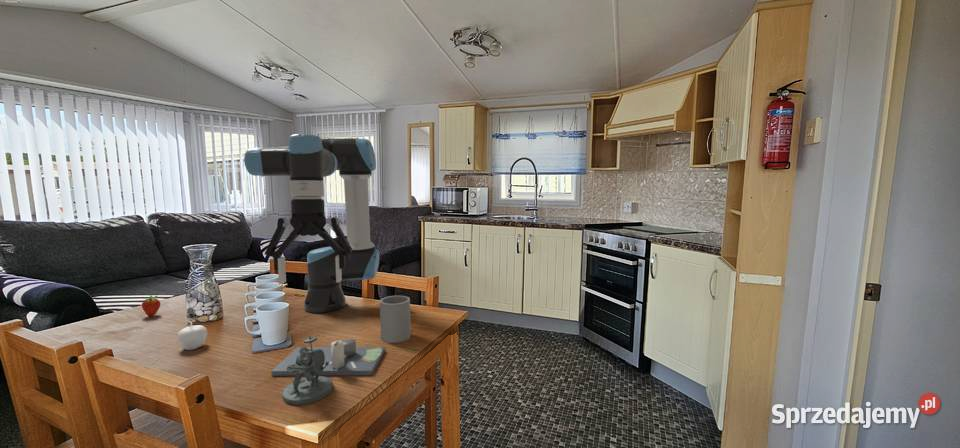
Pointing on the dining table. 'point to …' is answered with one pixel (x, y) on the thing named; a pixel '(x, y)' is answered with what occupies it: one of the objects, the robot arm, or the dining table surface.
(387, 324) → the cup
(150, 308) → the fruit
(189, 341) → the plain white apple
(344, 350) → the grey and white piece
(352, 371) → the board
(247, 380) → the dining table surface
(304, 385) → the figurine
